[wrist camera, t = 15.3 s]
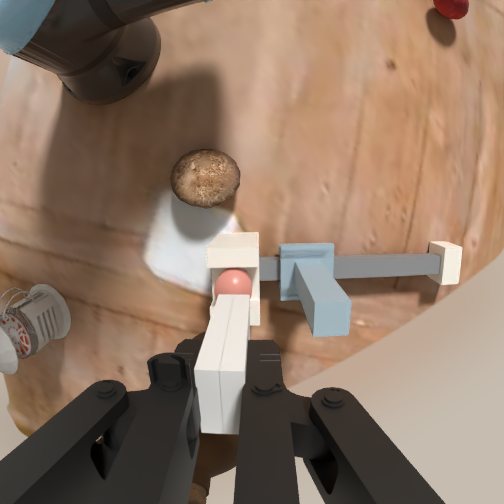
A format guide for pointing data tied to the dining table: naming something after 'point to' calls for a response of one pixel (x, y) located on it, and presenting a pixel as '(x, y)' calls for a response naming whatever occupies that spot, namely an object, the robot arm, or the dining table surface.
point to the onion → (452, 8)
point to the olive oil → (211, 459)
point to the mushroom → (205, 178)
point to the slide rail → (345, 266)
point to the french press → (41, 318)
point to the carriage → (314, 287)
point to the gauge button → (233, 282)
